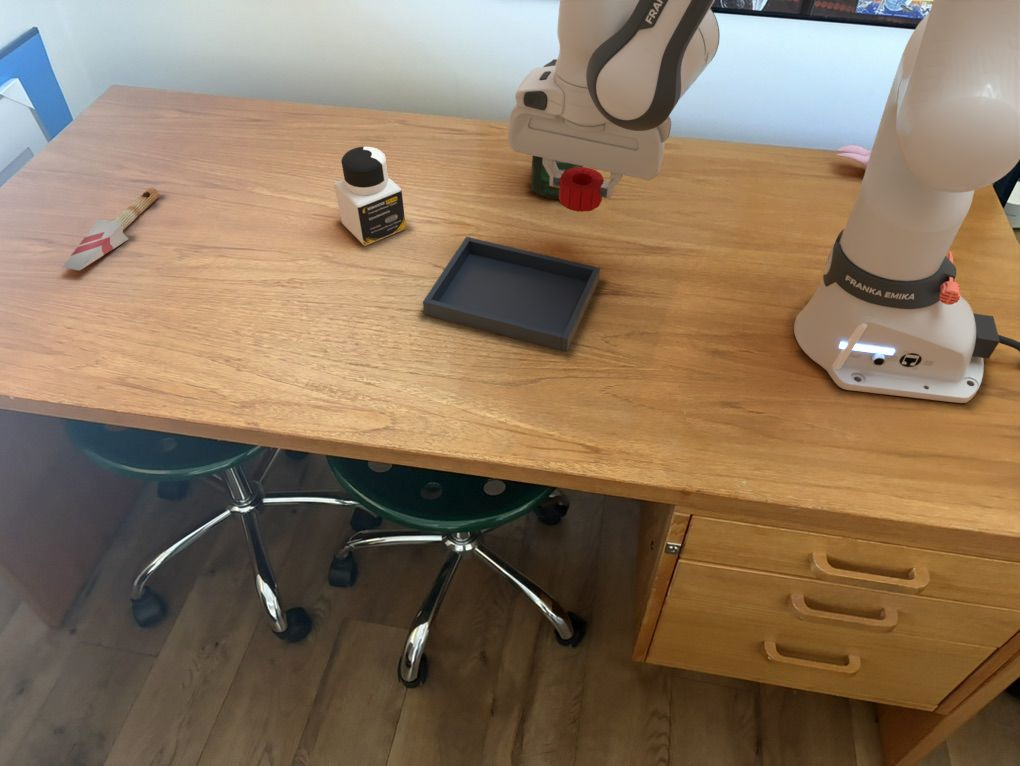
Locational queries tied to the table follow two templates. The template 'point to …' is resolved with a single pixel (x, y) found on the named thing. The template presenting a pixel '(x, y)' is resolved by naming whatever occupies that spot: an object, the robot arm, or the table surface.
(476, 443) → the table surface
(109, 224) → the garden trowel
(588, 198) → the ring
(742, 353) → the table surface
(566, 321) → the tray
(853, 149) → the rabbit figure
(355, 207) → the medicine bottle
